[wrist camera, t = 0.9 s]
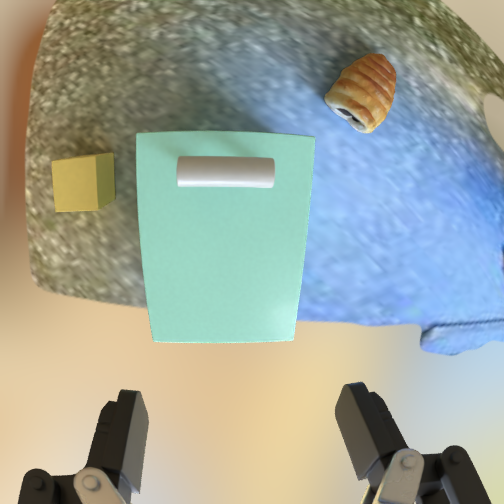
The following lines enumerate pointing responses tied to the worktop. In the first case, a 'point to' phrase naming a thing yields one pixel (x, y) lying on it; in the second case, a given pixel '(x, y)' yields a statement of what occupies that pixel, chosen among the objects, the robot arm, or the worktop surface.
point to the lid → (223, 233)
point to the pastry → (364, 92)
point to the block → (83, 182)
